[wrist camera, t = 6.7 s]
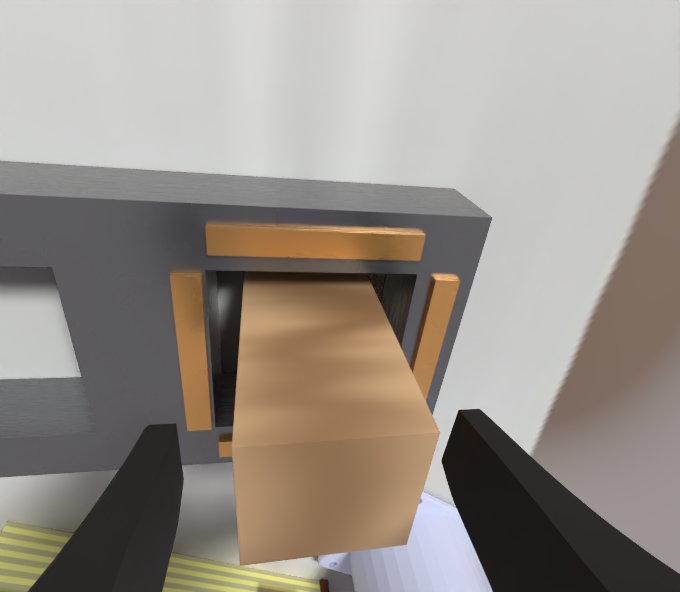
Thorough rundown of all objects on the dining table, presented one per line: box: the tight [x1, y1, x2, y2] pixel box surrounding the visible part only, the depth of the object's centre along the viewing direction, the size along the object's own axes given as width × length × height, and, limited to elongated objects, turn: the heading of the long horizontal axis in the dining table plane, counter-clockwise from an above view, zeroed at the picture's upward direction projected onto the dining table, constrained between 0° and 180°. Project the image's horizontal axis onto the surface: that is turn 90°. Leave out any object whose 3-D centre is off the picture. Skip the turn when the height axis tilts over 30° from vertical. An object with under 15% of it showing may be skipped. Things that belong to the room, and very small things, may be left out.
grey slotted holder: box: [0, 161, 492, 477], centre depth 14 cm, size 20×10×3 cm, turn 84°
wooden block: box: [232, 271, 440, 566], centre depth 13 cm, size 4×4×8 cm
